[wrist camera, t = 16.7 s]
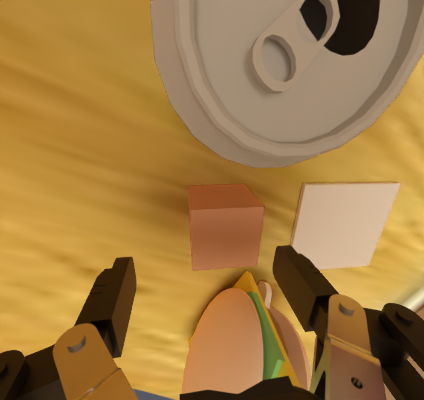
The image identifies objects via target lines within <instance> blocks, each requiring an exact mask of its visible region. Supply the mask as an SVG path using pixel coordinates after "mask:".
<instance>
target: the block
mask: <svg viewBox="0 0 424 400" xmlns="http://www.w3.org/2000/svg"><path fill="white" fill-rule="evenodd" d="M263 216H264V206H263V204H262V203H261V202H260V201H259V200H258V199H257V197H256V196H255V195H254V194H253V193H252V192H251V191H250V189H249V188H248V187H247V186H246V185H245V184H223V185H190V186H189V217H190V241H191V256H192V270H193V271H196V270H209V269H221V268H233V267H245V266H257V264H258V256H259V248H260V240H261V232H262V224H263Z"/></svg>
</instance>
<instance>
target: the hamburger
mask: <svg viewBox="0 0 424 400" xmlns="http://www.w3.org/2000/svg"><path fill="white" fill-rule="evenodd" d="M271 297H272V290H271V287H270V285H269V284H268V283H266V282H264V281H260V282H259V283H258V285H256V283H255V280H254V278H253V276H252V273H250V272H248V271H245V273H244V274H243V275H242V276H241V277H240V279H239V280H238V281H237V282H236V283H235V285H234V286H233V287H232V288H229V289H226V290H224V291H222V292H221V293H219V294H218V295H217V296H216V297H215V298H214V299H213V300H212V301H211V302H210V304H209V305H208V307H207V308H206V309H205V311H204V313H203V315H202V316H201V318H200V320H199V323H198V325H197V327H196V330H195V332H194V334H193V335H192V337H191V338H190V339H189V351H188V355H187V359H186V365H185V370H184V377H183V384H182V394H185V393H191V392H196V391H202V390H215V391H221V392H228V393H234V394H238V393H241V392H243V391H245V390H246V389H248V388H250V387H252V386H254V385H255V384H257V383H259V382H261V381H263V380H266V379H272V378H278V377H284V376H289V378H290V380H291V382H292V385H293V386H297V387H301V388H303V389H305V390H308V391H309V388H310V384H311V374H310V367H309V362H308V359H307V355H306V352H305V348H304V346H303V343H302V341H301V339H300V336H299V334H298V333H297V331H296V329H295V328H294V326H293V325H292V323H291V322H290V321H289V320H288V319H287V317H286V316H285V315H284V314H282V313H281V312H280V311H279V310H277V309H275V308H273V307H271V306H270V302H271Z"/></svg>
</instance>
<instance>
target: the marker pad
mask: <svg viewBox="0 0 424 400" xmlns="http://www.w3.org/2000/svg"><path fill="white" fill-rule="evenodd" d="M400 185H401V183H398V182H355V183H302V188H301V193H300V198H299V203H298V208H297V213H296V217H295V222H294V227H293V232H292V237H291V242H290V245H291V246H292V247H293V248H294V249H295V250H296V252H297V253H298V254H299V253H301V254H302V255H304V256H305V257H307V258H308V259H310V261H311V262H312V263H313V264H314V265H315V267H316V268H317V269H318V270H320V269H333V268H346V267H359V266H369V263H370V261H371V258H372V256H373V253H374V251H375V248H376V245H377V243H378V240H379V238H380V235H381V233H382V230H383V228H384V225H385V223H386V220H387V218H388V215H389V213H390V210H391V208H392V205H393V203H394V200H395V198H396V195H397V193H398V190H399V188H400Z"/></svg>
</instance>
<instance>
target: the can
mask: <svg viewBox="0 0 424 400" xmlns="http://www.w3.org/2000/svg"><path fill="white" fill-rule="evenodd" d="M150 8H151V20H152V33H153V45H154V58H155V62H156V65H157V68H158V70H159V73H160V76H161V79H162V82H163V84H164V87H165V90H166V93H167V96H168V98H169V101H170V104H171V106H172V107H173V108H174V110H175V111H176V112H177V114H178V115H179V117H180V118H181V119H182V121H183V122H184V123H185V125H186V126H187V128H188V129H189V130H190V132H191V133H192V135H193V136H194V137H195V138H196V139H198V140H199V141H200V142H202V143H203V144H204V145H206V146H207V147H208V148H210V149H211V150H212V151H214V152H215V153H217V154H218V155H219V156H221V157H222V158H224V159H227V160H230V161H233V162H237V163H240V164H243V165H246V166H249V167H252V168H270V167H287V166H290V165H293V164H296V163H299V162H302V161H304V160H307V159H310V158H313V157H316V156H317V155H319V154H322V153H325V152H327V151H330V150H333V149H336V148H339V147H341V146H342V145H344V144H345V143H347V142H348V141H350V140H351V139H353V138H354V137H356V136H357V135H358V134H360V133H361V132H363V131H364V130H366V129H367V128H369V127H370V126H371V125H372V124H373V123H374V122H375V121H376V120H377V119H378V118H379V116H380V115H381V114H382V113H383V112H384V111H385V110H386V109H387V108H388V106H389V105H390V104H391V103H392V102H393V101H394V100H395V99H396V98H397V97H398V95H399V94H400V92H401V91H402V89H403V87H404V85H405V84H406V82H407V80H408V78H409V77H410V75H411V73H412V72H413V70H414V68H415V66H416V65H417V63H418V61H419V59H420V58H421V56H422V54H423V52H424V0H151V4H150Z"/></svg>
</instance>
